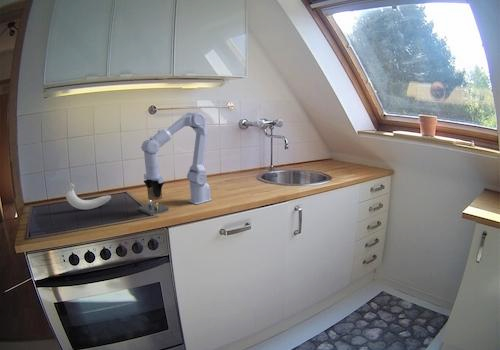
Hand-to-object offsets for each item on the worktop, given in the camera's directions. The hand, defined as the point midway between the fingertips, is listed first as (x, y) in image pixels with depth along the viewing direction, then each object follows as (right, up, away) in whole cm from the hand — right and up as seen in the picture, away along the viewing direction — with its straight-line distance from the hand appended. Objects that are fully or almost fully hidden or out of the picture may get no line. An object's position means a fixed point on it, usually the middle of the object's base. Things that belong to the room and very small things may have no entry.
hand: (155, 195), depth 149 cm
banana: (-34, -7, +8) cm, 35 cm away
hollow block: (0, -1, 0) cm, 1 cm away
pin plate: (-2, -7, +4) cm, 8 cm away
